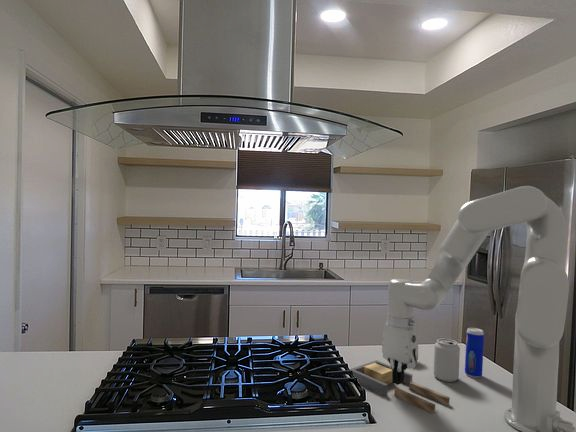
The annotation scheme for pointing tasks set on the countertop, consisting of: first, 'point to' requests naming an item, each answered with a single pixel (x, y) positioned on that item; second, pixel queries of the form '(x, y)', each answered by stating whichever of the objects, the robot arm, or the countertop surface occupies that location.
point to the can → (446, 360)
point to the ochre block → (379, 373)
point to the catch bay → (375, 383)
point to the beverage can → (474, 352)
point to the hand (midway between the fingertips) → (397, 382)
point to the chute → (419, 401)
